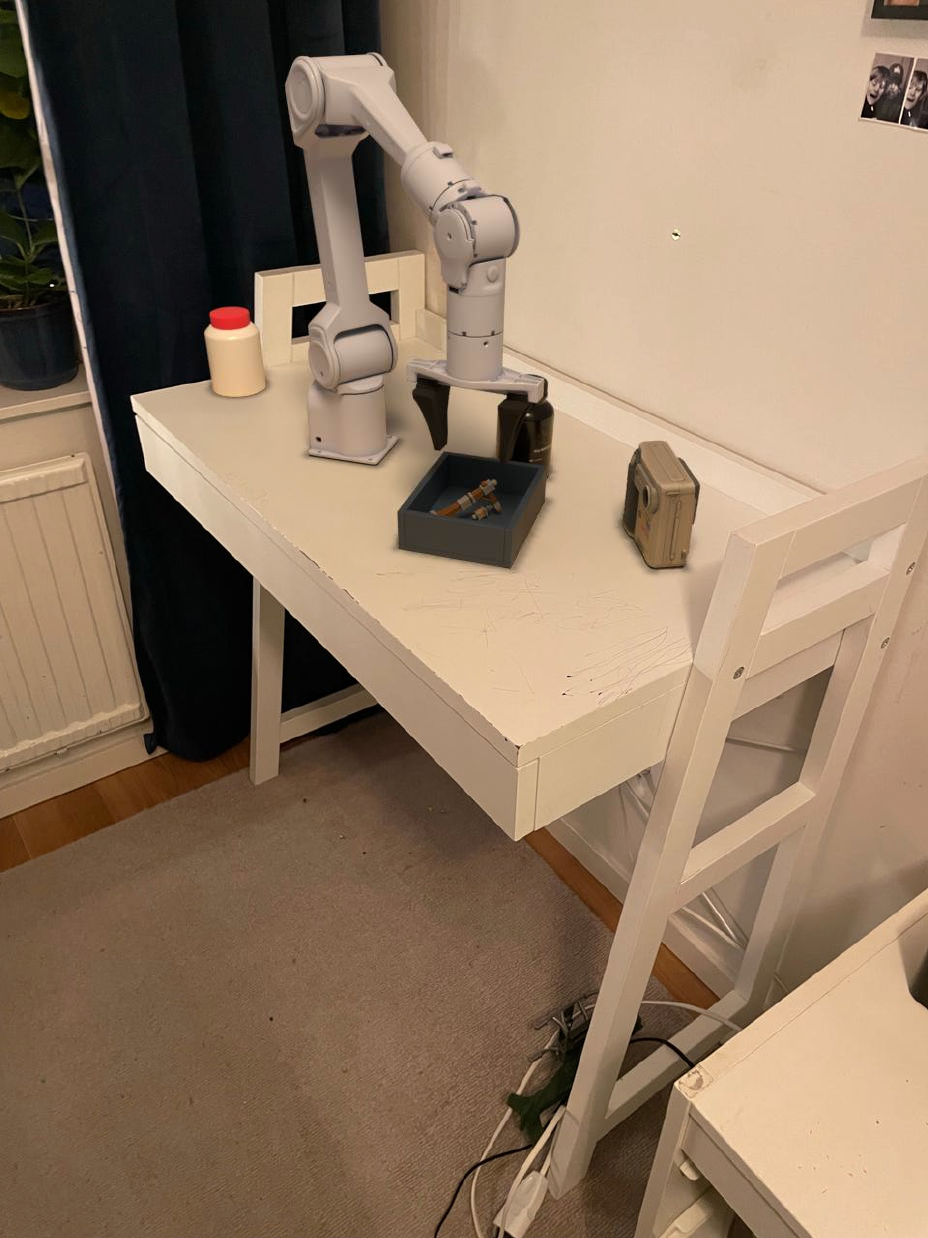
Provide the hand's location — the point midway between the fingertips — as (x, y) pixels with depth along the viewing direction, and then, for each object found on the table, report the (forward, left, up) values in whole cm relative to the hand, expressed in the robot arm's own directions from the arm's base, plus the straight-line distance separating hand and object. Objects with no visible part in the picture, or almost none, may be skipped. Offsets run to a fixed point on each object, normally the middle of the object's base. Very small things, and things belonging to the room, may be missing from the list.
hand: (472, 453), depth 101 cm
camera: (+20, +2, -9) cm, 22 cm away
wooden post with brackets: (-1, -1, -8) cm, 8 cm away
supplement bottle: (+2, +14, -9) cm, 17 cm away
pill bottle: (-45, +28, -9) cm, 53 cm away
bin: (0, 0, -9) cm, 9 cm away
